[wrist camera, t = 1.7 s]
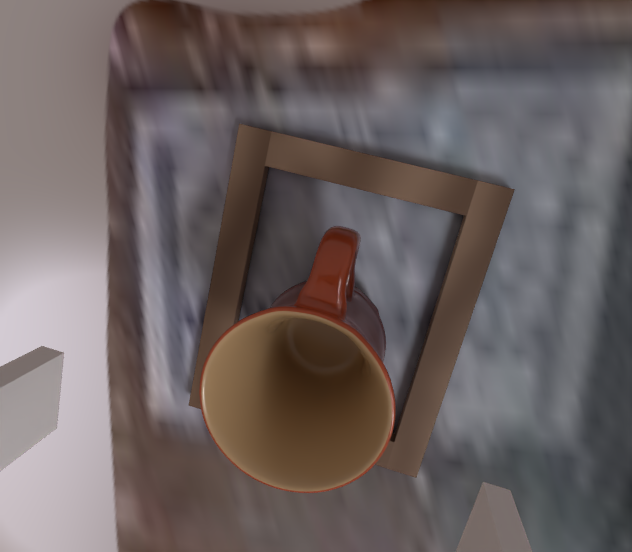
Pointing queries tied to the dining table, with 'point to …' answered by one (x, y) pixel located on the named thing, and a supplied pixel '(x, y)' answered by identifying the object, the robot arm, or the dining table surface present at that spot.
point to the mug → (304, 381)
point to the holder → (385, 179)
